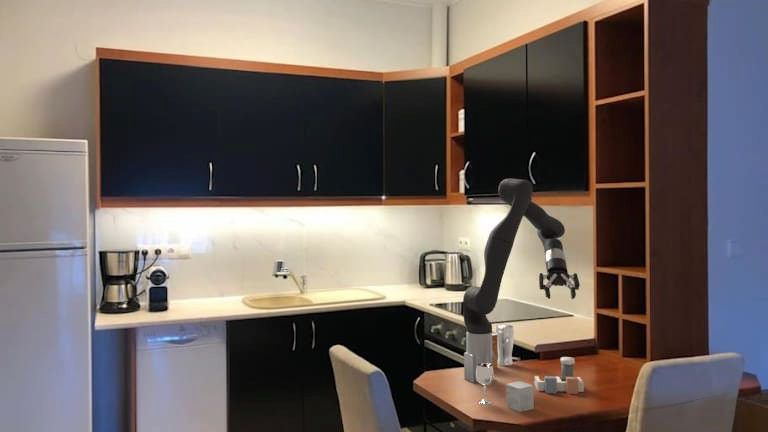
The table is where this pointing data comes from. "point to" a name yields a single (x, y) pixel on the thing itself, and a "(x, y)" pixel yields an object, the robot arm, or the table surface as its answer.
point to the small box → (494, 350)
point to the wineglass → (484, 378)
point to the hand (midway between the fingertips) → (561, 297)
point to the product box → (520, 396)
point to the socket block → (559, 384)
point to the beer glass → (505, 344)
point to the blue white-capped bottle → (567, 367)
